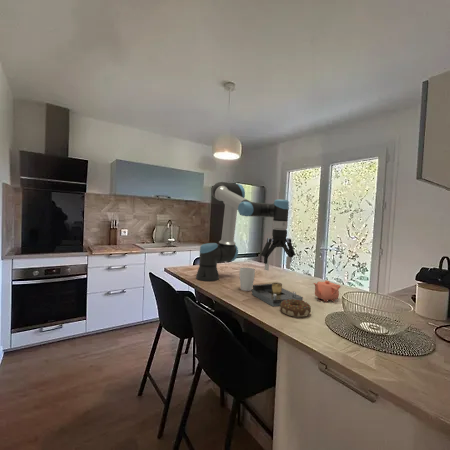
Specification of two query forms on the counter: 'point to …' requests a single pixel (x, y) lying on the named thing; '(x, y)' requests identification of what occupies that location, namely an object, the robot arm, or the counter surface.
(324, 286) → the pink piggy bank
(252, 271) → the cup
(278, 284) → the amber grooved cylinder
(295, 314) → the donut
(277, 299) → the jig
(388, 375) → the counter surface
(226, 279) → the counter surface
